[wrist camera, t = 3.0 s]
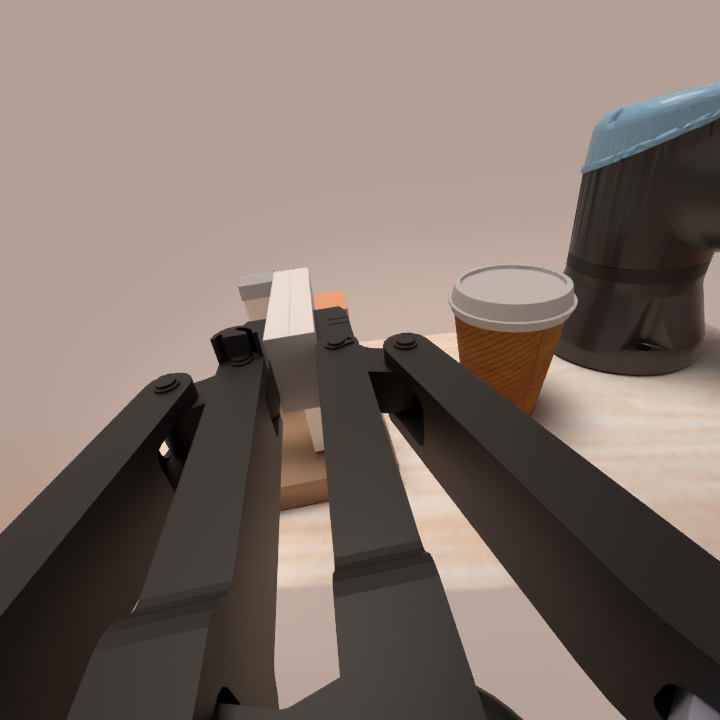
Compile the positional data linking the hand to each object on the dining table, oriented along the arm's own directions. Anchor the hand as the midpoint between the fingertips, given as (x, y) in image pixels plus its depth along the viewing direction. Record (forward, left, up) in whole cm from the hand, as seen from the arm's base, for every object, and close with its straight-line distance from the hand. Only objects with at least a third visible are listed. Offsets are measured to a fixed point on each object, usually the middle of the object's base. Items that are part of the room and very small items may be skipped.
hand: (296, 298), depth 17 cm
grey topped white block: (+19, -4, -15) cm, 24 cm away
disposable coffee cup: (+2, -18, -17) cm, 25 cm away
